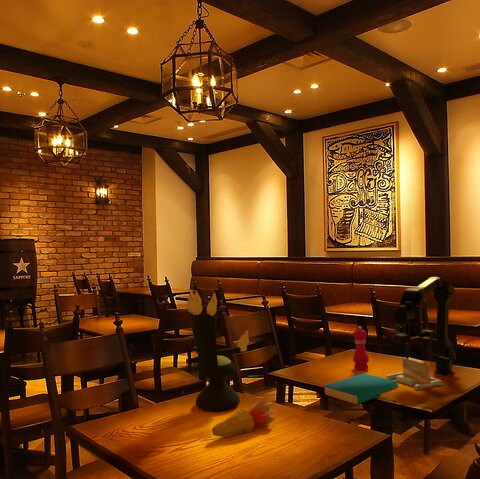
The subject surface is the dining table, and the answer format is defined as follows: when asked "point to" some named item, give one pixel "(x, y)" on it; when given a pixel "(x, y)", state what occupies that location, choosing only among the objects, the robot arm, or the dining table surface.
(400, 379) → the offcut top
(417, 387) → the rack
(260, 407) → the torch
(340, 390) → the book
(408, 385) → the offcut low
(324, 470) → the dining table surface
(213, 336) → the candelabra
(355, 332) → the pepper mill
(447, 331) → the robot arm
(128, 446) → the dining table surface
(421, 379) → the sheet
